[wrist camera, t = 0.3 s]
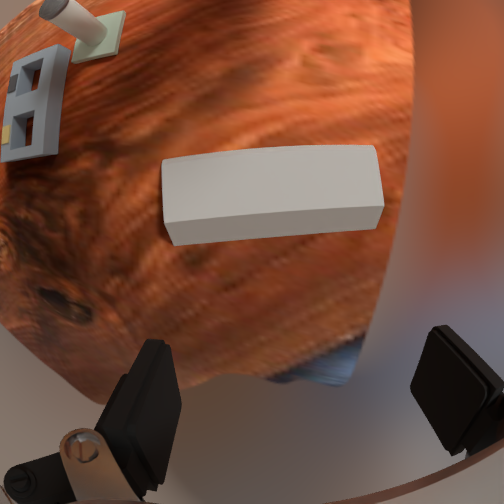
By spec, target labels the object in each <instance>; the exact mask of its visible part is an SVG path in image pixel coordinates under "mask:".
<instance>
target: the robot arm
mask: <svg viewBox="0 0 504 504" xmlns="http://www.w3.org/2000/svg"><path fill="white" fill-rule="evenodd" d="M503 388H504V381H503V380H502V379H501V378H500V377H499V376H498V375H497V374H496V373H495V372H494V371H493V369H491V368H490V367H489V365H488V364H487V363H486V362H485V361H484V360H483V359H482V358H481V357H480V356H479V355H478V354H477V353H476V352H475V351H474V350H473V349H472V348H471V347H470V346H469V345H468V344H467V343H466V342H465V341H464V340H463V339H461V338H460V336H458V335H457V334H456V333H455V332H454V331H453V330H452V329H451V328H450V327H449V326H448V325H441V326H435V327H433V328H432V330H431V331H430V332H429V333H428V336H427V339H426V342H425V346H424V349H423V352H422V355H421V358H420V360H419V363H418V366H417V369H416V371H415V374H414V377H413V379H412V382H411V385H410V389H411V393H412V395H413V396H414V398H415V399H416V401H417V403H418V404H419V406H420V408H421V409H422V411H423V413H424V414H425V416H426V417H427V419H428V421H429V423H430V424H431V426H432V427H433V429H434V431H435V433H436V434H437V436H438V438H439V440H440V441H441V443H442V445H443V447H444V448H445V450H447V451H449V453H450V454H451V456H454V455H456V454H458V453H461V452H462V451H463V450H464V449H465V448H466V450H467V452H466V457H465V459H464V460H462V461H460V462H458V463H456V464H454V465H452V466H449V467H447V468H445V469H443V470H440V471H438V472H436V473H433V474H431V475H428V476H425V477H423V478H420V479H417V480H414V481H412V482H409V483H406V484H403V485H400V486H397V487H393V488H390V489H387V490H383V491H380V492H376V493H372V494H368V495H364V496H360V497H356V498H351V499H346V500H341V501H336V502H330V503H325V504H504V393H503V392H502V391H503ZM181 405H182V403H181V397H180V392H179V388H178V383H177V378H176V373H175V368H174V363H173V358H172V353H171V348H170V345H168V344H165V342H164V340H156V339H147V340H146V341H145V343H144V345H143V347H142V348H141V350H140V352H139V354H138V356H137V358H136V360H135V362H134V363H133V365H132V367H131V369H130V371H129V373H128V374H124V375H122V377H121V378H120V380H119V382H118V384H117V385H116V387H115V389H114V391H113V393H112V395H111V397H110V399H109V401H108V403H107V405H106V407H105V409H104V410H103V412H102V414H101V416H100V418H99V420H98V422H97V424H96V427H95V428H94V430H92V429H87V428H80V429H75V430H73V431H71V432H69V433H68V434H66V435H65V436H64V437H63V439H62V440H61V442H60V446H59V449H60V452H58V453H55V454H52V455H49V456H46V457H42V458H39V459H36V460H33V461H30V462H26V463H23V464H19V465H16V466H14V467H12V468H10V470H8V471H7V473H6V475H5V477H4V485H2V486H1V485H0V504H156V503H149V502H145V500H144V498H143V496H145V495H146V491H147V490H152V491H157V488H158V484H161V485H162V484H163V483H164V480H165V476H166V471H167V467H168V463H169V458H170V453H171V450H172V445H173V441H174V436H175V433H176V428H177V424H178V420H179V416H180V412H181Z"/></svg>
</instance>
